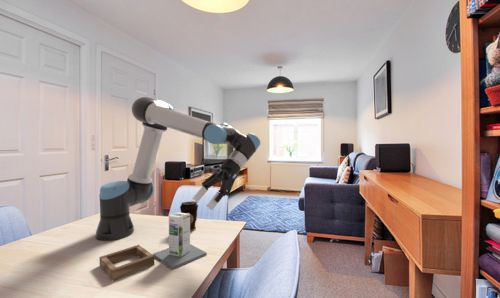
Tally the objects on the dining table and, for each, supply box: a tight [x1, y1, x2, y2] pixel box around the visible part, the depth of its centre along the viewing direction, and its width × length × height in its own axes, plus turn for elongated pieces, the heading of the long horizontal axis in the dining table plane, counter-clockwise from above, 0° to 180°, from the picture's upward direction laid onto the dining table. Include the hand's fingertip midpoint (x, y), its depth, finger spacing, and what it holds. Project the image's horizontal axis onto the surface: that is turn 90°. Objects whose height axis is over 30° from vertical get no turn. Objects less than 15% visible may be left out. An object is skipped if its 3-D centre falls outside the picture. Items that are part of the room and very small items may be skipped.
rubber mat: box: [152, 243, 208, 270], centre depth 88 cm, size 14×14×1 cm
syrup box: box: [168, 211, 191, 257], centre depth 88 cm, size 6×6×14 cm
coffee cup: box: [179, 200, 199, 232], centre depth 114 cm, size 9×8×13 cm
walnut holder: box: [99, 244, 155, 281], centre depth 81 cm, size 13×13×3 cm
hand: (201, 204), depth 92 cm, fingers open, 13 cm apart
